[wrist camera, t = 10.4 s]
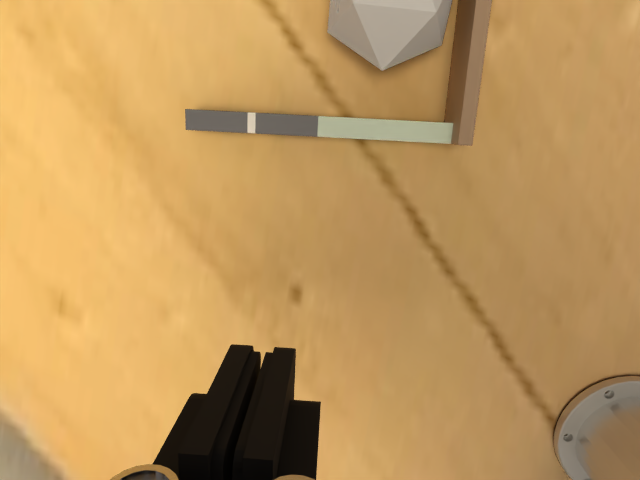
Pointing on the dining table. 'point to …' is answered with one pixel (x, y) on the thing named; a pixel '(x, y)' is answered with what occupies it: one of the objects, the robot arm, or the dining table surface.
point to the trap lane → (453, 130)
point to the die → (389, 28)
